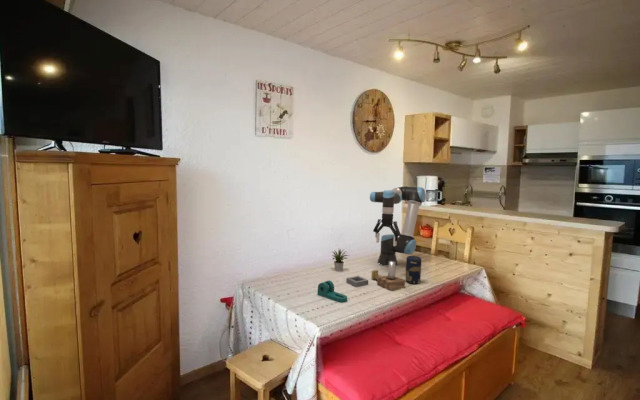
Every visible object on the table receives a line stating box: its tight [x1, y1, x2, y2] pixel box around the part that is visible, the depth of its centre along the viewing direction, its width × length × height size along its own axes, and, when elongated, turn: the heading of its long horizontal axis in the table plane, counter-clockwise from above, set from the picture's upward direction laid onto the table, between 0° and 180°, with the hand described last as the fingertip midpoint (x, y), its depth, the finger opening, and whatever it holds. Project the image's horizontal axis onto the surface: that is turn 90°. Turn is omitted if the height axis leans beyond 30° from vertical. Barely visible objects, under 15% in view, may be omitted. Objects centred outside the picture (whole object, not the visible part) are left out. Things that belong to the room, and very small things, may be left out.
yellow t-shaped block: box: [371, 269, 382, 280], centre depth 217 cm, size 10×4×6 cm, turn 33°
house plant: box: [332, 248, 349, 272], centre depth 237 cm, size 14×14×16 cm
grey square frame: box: [345, 275, 369, 288], centre depth 211 cm, size 10×10×3 cm
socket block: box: [376, 274, 406, 292], centre depth 208 cm, size 12×12×5 cm
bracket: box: [317, 280, 348, 304], centre depth 186 cm, size 18×7×8 cm, turn 48°
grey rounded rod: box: [387, 261, 396, 280], centre depth 208 cm, size 4×4×16 cm
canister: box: [405, 255, 422, 285], centre depth 217 cm, size 10×10×18 cm
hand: (386, 244), depth 225 cm, fingers open, 13 cm apart
